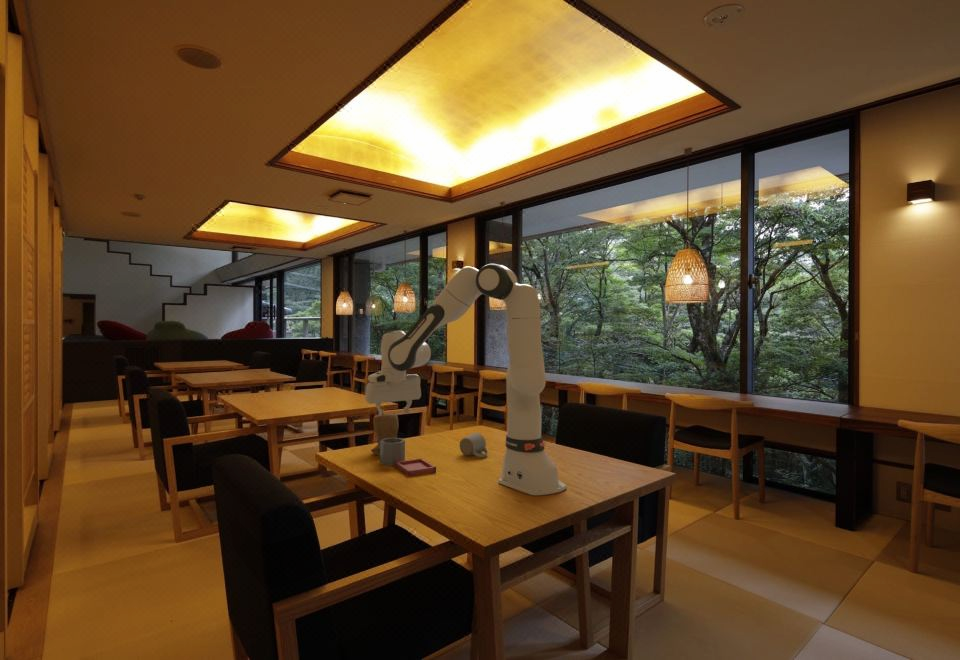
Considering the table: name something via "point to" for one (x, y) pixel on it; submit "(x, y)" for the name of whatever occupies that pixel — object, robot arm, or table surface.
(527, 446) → the robot arm
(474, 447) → the ceramic mug
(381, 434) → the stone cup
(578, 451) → the table surface
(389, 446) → the deep cup
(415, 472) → the lacquer tray
